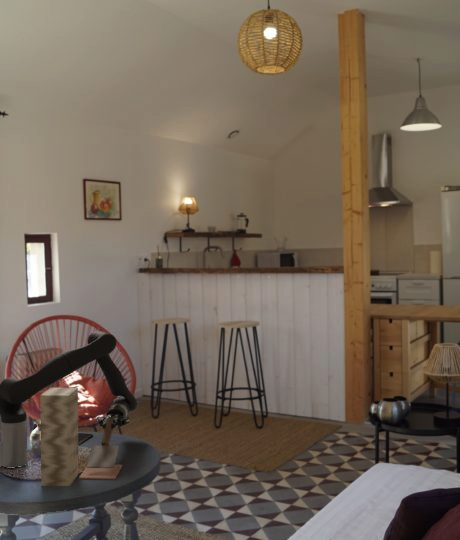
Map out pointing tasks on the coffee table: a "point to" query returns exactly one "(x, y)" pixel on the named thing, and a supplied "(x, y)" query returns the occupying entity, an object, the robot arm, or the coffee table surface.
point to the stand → (59, 436)
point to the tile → (101, 473)
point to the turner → (104, 450)
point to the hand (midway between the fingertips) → (108, 426)
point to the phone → (83, 437)
